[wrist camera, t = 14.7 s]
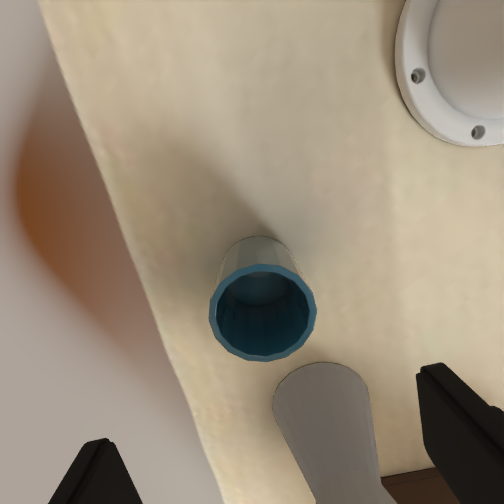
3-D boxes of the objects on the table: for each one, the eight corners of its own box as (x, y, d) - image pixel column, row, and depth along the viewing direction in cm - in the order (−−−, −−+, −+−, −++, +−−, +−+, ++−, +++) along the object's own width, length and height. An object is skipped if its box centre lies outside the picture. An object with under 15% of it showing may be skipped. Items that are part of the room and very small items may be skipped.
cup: (224, 232, 21) (213, 259, 15) (300, 240, 22) (324, 270, 15) (218, 302, 23) (205, 357, 16) (289, 309, 23) (306, 365, 16)
